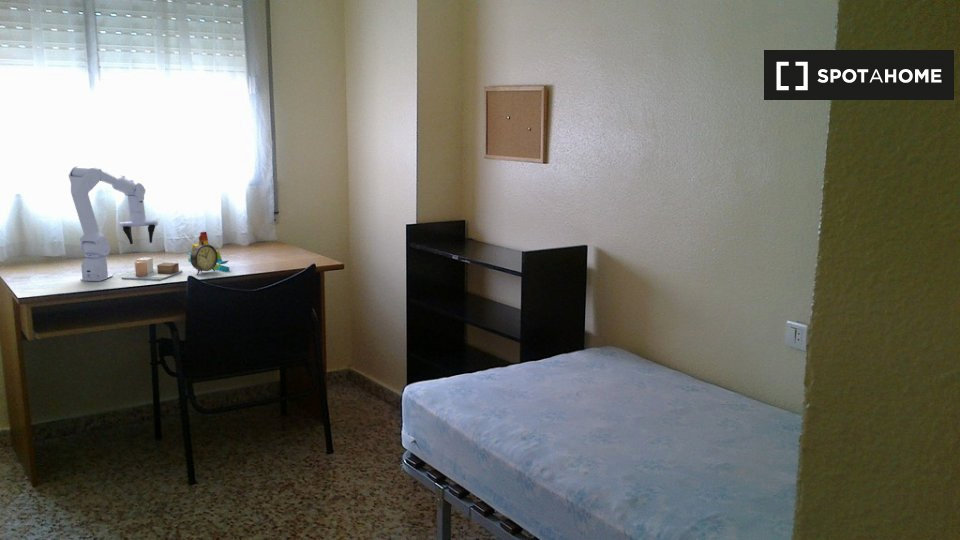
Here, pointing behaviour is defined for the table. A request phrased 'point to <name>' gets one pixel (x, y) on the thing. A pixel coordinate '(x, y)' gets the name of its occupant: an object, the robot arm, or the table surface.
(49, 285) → the table surface
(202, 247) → the alarm clock
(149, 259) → the cream block
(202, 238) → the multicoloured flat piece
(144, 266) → the terracotta round block
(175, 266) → the walnut base block
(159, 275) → the building board
